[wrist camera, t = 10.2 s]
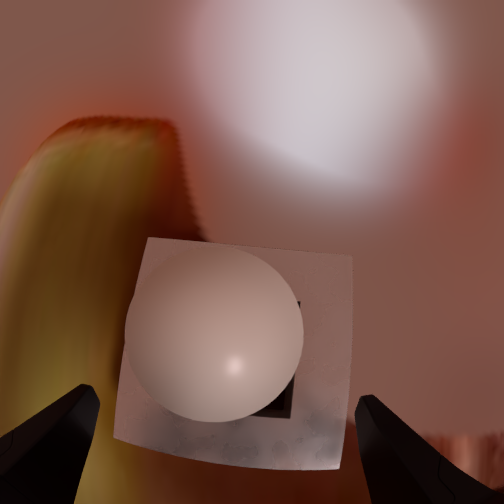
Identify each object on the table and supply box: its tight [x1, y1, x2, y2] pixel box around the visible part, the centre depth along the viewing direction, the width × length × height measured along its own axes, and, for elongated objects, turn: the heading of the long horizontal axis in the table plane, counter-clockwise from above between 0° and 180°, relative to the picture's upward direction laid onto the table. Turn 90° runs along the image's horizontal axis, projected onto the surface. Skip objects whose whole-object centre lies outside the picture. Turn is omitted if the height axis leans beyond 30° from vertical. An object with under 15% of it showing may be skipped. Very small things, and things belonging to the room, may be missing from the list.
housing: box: [114, 237, 353, 470], centre depth 16 cm, size 12×12×4 cm
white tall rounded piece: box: [125, 246, 304, 422], centre depth 12 cm, size 4×4×12 cm
